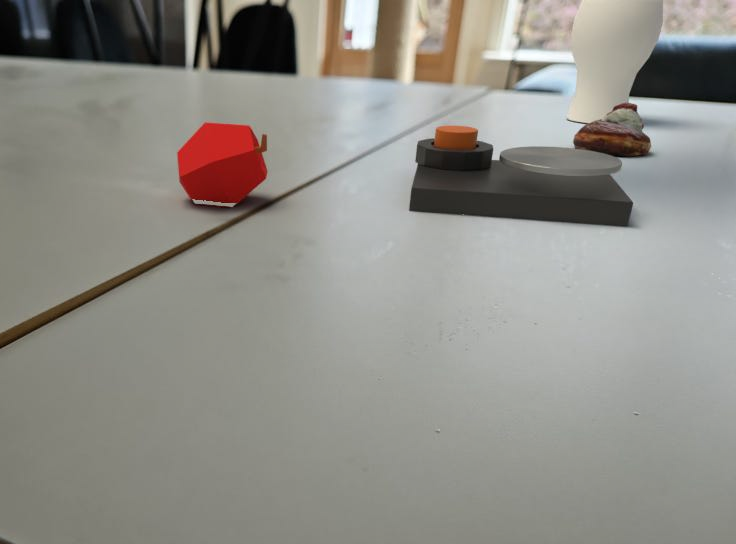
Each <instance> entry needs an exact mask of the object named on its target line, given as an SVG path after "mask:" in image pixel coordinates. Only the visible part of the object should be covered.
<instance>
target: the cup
mask: <svg viewBox="0 0 736 544" xmlns="http://www.w3.org/2000/svg"><path fill="white" fill-rule="evenodd" d="M663 23H664V0H581V2H580V4H579V7H578V9H577V12H576V14H575V17H574V20H573V23H572V29H571V34H570V41H571V55H572V57H573V62H574V65H575V68H576V83H575V92H574V94H573V97H572V100H571V103H570V106H569V109H568V111H567V114H566V119H567V120H568V121H572V122H576V123H577V122H578V123H584V124H589V123H591V122H593V121H596V120H600V119H601V118H603V117H604V116H606V114H608V113H610V112H612V110H613V108H614V107H615V106H617V105H620V104H622V103H630V92H631V90H632V87H633V85H634V82H635V79H636V77H637V74H638V73H639V71H640V70H641V69H642V67H644V65H645V63H646V62H647V61H648V60H649V58H650V57H651V55H652V53H653V51H654V50H655V47H656V45H657V43H658V42H659V39H660V36H661V31H662V27H663Z"/></svg>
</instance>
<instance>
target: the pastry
mask: <svg viewBox="0 0 736 544" xmlns="http://www.w3.org/2000/svg"><path fill="white" fill-rule="evenodd" d="M644 128H645V124H644V123H643V119H642V117H641V116H640V114H639V113H638V105H637V104H635V103H632V102H629V103H622V104H620V105H617V106H615V107H614V108H613V110H612V112H610V113H608V114H606V116H604V117H603V118H601V119H600V120H596V121H593V122H591V123H585V124H584V125H583V126H582V127H581V128H579V129H578V131H577V132H576V133H575V134H574V136H573V141H572V143H573V146H574V148H575V149H582V150H588V151H594V152H599V153H603V154H607V155H611V156H614V157H635V156H644V155H648V154H649V152H650V150H651V148H652V142H651V138H650V137H649V136H648V135H647V134H646V133H644V131H643V129H644Z"/></svg>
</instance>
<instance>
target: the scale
mask: <svg viewBox="0 0 736 544" xmlns="http://www.w3.org/2000/svg"><path fill="white" fill-rule="evenodd" d="M434 141H435V137H433V138H425V139H421V140H418V141H417V144H416V149H415V151H416V152H415V159H414V162H415V164H417V166H416V168H415V173H414V176H413V180H412V184H411V188H410V195H409V204H408V205H409V207H408V211H409V212H419V213H430V214H431V213H433V214H446V215H458V216H459V215H460V216H473V217H485V218H487V217H488V218H501V219H513V220H527V221H541V222H555V223H565V224H566V223H568V224H582V225H594V226H608V227H620V228H621V227H622V228H628V226H629V224H630V223H629V222H630V219H631V214H632V210H633V206H634V201H633V200H632V199H631V198H630V196H629V195H628V194H627V193H626V192H625V190H624V189H623V188H622V187H621V186H620V184H618V183H619V182H617V181H616V180H615V179H614V177H613V176H612V174H609V175H601V176H564V175H552V174H543V173H536V172H530V171H525V170H520V169H517V168H513V167H510V166H507V165H505V164H503V163H502V162H500V160H499V159H493V154H494V145H493V144H491V143H488V142H485V141H481V140H477V143H476V148H474V149H449V148H442V147H436V146H434ZM463 214H464V215H463Z"/></svg>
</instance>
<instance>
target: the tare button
mask: <svg viewBox="0 0 736 544" xmlns="http://www.w3.org/2000/svg"><path fill="white" fill-rule="evenodd" d="M434 133H435V134H434V138H435V141H434V146H436V147H442V148H449V149H474V148H476V143H477V141H478V136H479V129H478V128H476V127H472V126H466V125H465V126H464V125H440V126H437V127H436V128H435V132H434Z"/></svg>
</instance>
